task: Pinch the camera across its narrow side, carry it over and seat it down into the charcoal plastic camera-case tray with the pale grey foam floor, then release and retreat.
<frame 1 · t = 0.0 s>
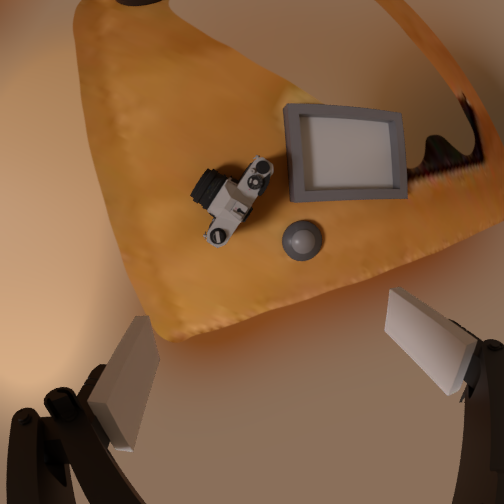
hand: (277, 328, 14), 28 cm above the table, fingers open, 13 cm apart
case tray: (346, 153, 40), on the table
camera: (225, 192, 40), on the table
lens cap: (300, 239, 43), on the table
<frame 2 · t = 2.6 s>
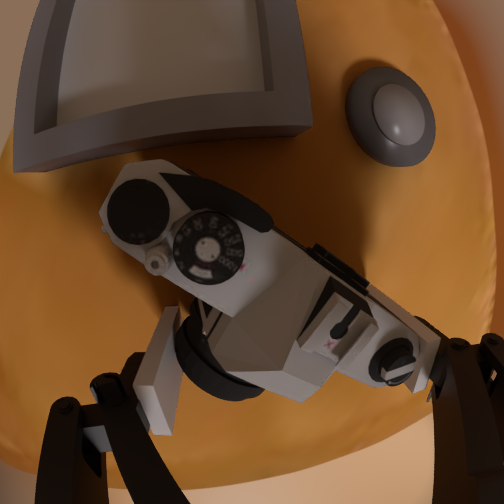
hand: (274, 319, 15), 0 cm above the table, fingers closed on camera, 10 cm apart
case tray: (157, 3, 10), on the table
camera: (243, 281, 15), on the table, touching gripper
lens cap: (387, 118, 14), on the table
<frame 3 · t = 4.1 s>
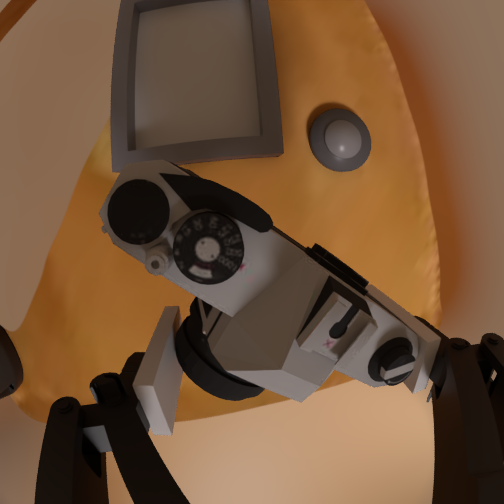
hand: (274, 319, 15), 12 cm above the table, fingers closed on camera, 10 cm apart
case tray: (194, 67, 21), on the table
camera: (243, 281, 15), point 11 cm above the table, touching gripper
lens cap: (338, 141, 24), on the table
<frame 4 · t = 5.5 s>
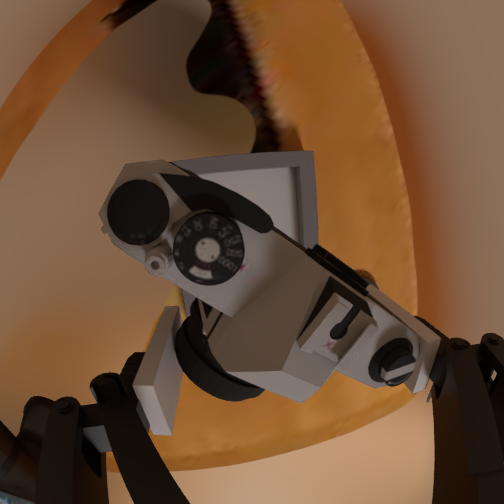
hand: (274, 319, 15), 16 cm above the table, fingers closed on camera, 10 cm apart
case tray: (246, 246, 30), on the table
camera: (243, 281, 15), point 15 cm above the table, touching gripper
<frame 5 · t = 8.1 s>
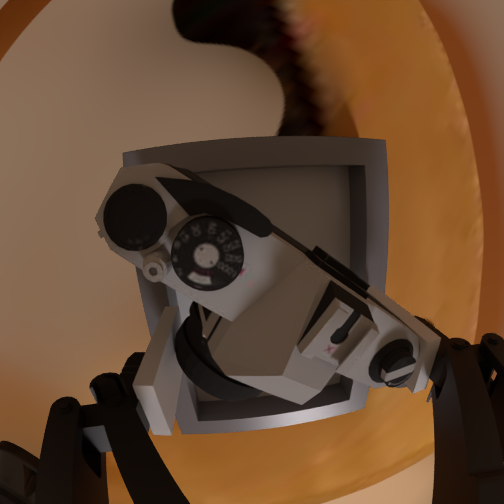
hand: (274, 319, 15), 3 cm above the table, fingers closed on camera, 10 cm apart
case tray: (265, 296, 18), on the table
camera: (242, 280, 15), point 3 cm above the table, touching case tray, gripper
when the fingers open (3 cm above the table, at t = 8.5 s): camera drops 1 cm, resting on case tray.
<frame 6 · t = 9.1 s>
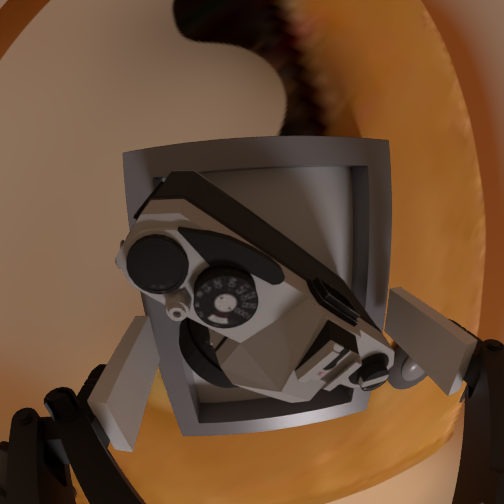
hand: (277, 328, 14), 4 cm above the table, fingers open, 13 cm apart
case tray: (266, 298, 18), on the table
camera: (240, 274, 16), point 1 cm above the table, touching case tray
lens cap: (410, 356, 21), on the table
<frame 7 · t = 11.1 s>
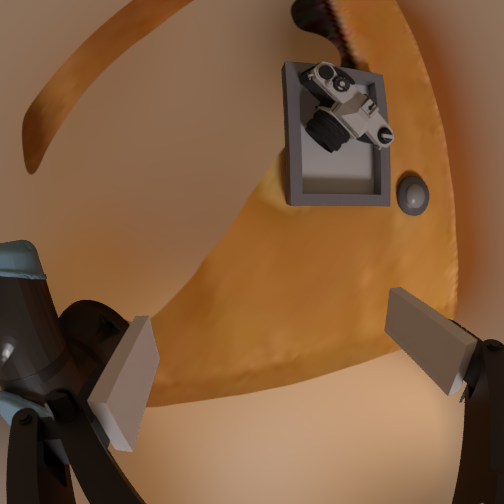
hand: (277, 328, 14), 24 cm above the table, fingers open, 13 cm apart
case tray: (334, 135, 35), on the table
camera: (326, 116, 33), point 1 cm above the table, touching case tray
lens cap: (410, 195, 38), on the table
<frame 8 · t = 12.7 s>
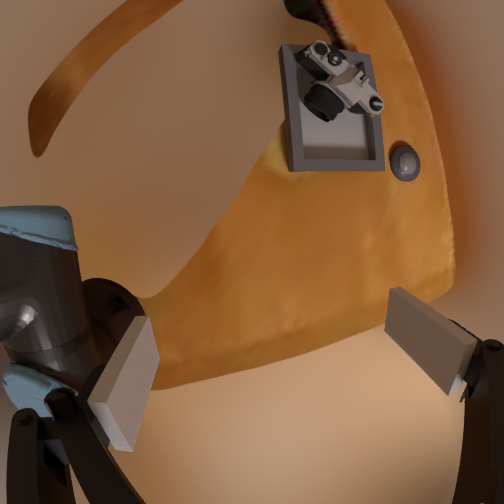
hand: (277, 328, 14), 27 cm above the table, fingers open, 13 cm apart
case tray: (329, 109, 37), on the table
camera: (321, 91, 34), point 1 cm above the table, touching case tray
lens cap: (403, 163, 40), on the table
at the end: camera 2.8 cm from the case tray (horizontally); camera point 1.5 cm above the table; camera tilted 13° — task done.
